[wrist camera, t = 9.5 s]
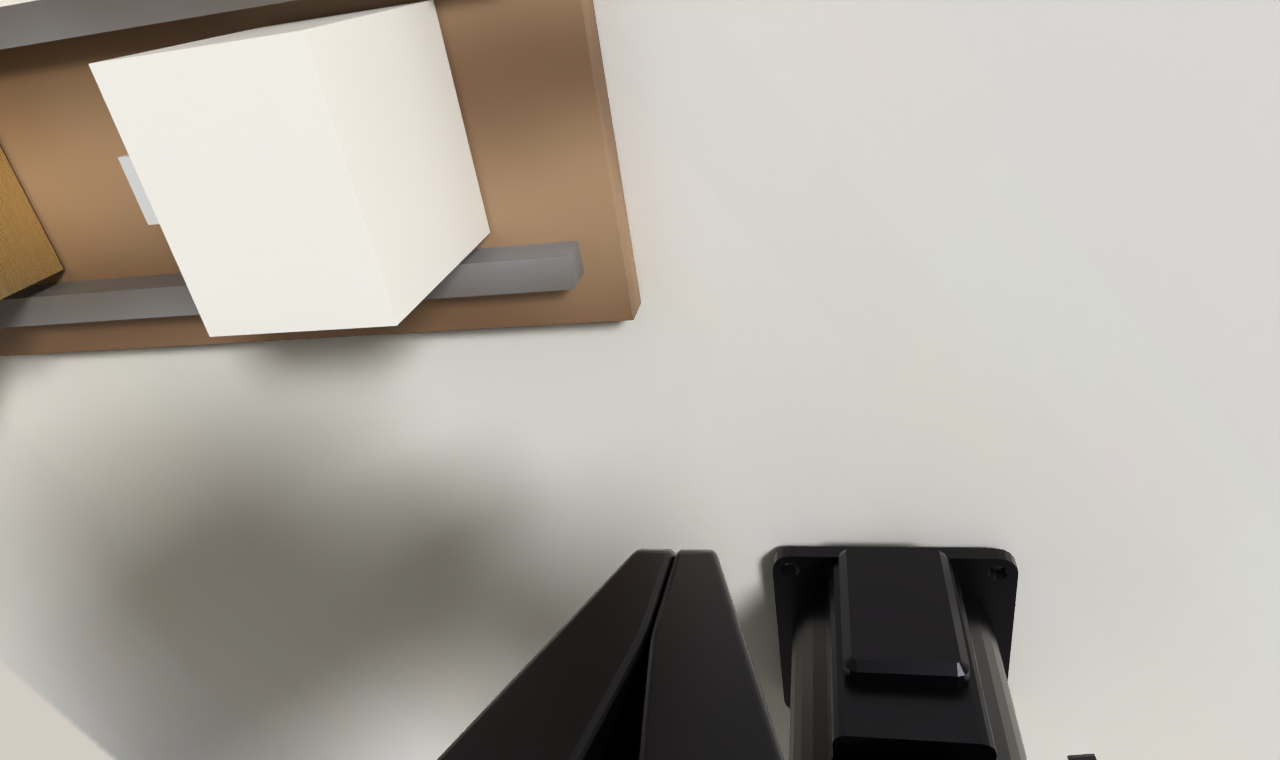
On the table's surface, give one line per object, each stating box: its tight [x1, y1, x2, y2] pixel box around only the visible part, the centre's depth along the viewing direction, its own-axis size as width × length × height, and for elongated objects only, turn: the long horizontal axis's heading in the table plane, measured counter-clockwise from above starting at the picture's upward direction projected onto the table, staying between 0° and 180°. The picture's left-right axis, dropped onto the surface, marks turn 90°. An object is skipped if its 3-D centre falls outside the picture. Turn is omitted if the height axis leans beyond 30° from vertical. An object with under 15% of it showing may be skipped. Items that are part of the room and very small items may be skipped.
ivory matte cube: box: [89, 0, 490, 337], centre depth 16 cm, size 5×6×5 cm
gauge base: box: [0, 0, 641, 356], centre depth 16 cm, size 14×20×7 cm
